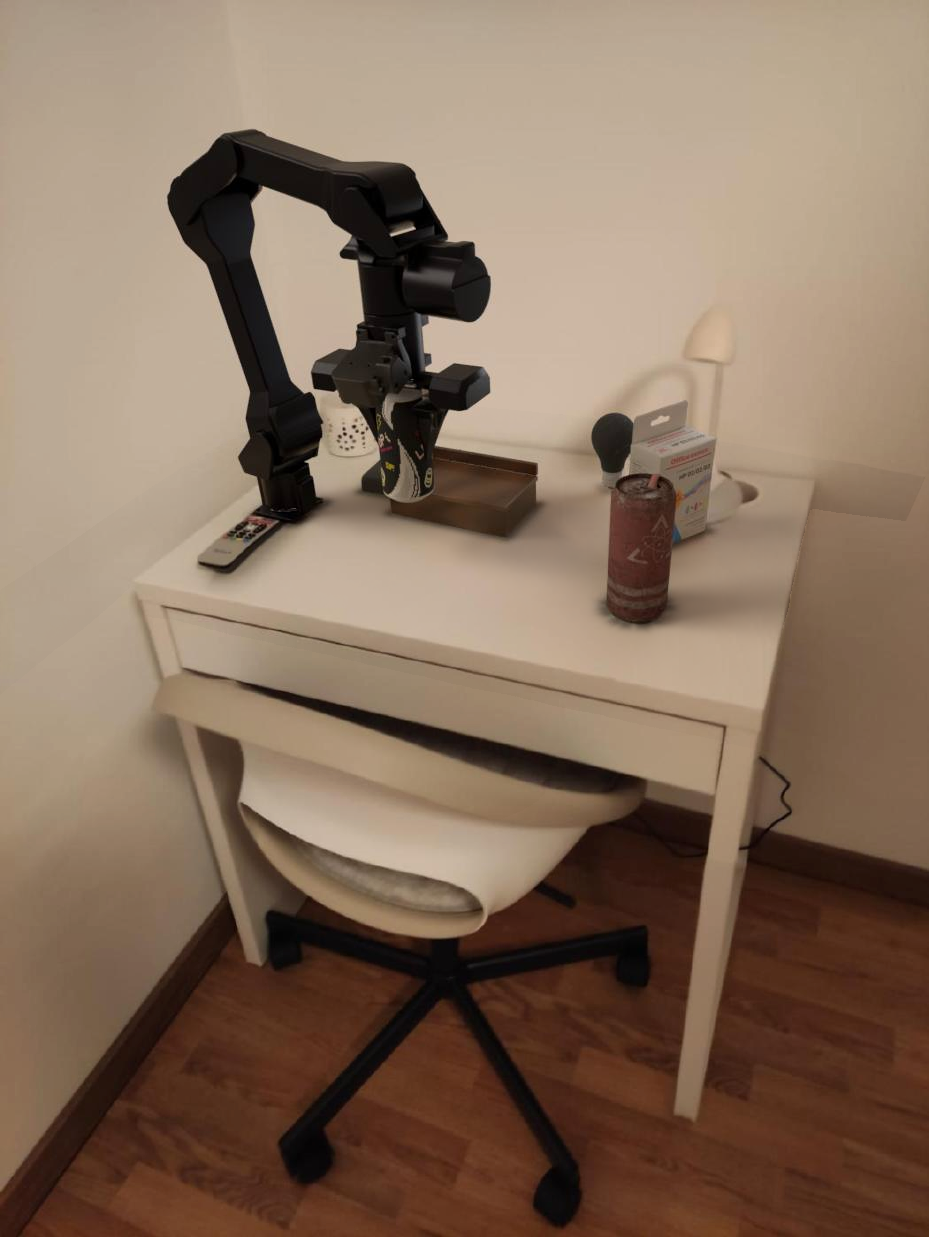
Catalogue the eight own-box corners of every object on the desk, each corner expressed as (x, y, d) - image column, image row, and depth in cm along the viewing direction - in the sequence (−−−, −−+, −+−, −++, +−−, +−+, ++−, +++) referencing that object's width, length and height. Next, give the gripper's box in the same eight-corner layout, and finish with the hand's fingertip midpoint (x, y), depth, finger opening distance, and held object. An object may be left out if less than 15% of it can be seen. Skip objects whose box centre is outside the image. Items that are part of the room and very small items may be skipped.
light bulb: (640, 483, 114) (645, 409, 109) (622, 501, 110) (626, 425, 105) (601, 475, 117) (603, 403, 111) (582, 492, 113) (584, 418, 107)
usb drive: (361, 491, 117) (359, 472, 115) (400, 455, 126) (398, 437, 124) (397, 496, 115) (395, 477, 113) (434, 459, 124) (432, 441, 122)
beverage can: (419, 510, 95) (412, 404, 88) (374, 501, 97) (363, 396, 90) (443, 487, 99) (438, 385, 92) (399, 479, 101) (390, 378, 95)
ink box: (653, 553, 99) (663, 430, 91) (623, 537, 103) (630, 416, 95) (707, 530, 103) (721, 410, 95) (676, 515, 107) (687, 397, 98)
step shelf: (389, 513, 111) (384, 473, 108) (427, 482, 118) (424, 443, 115) (506, 538, 104) (504, 496, 101) (539, 503, 111) (539, 463, 108)
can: (673, 596, 92) (684, 474, 84) (657, 629, 87) (668, 503, 79) (616, 586, 94) (623, 465, 86) (598, 617, 90) (603, 493, 82)
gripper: (265, 322, 85) (292, 470, 94) (431, 342, 77) (443, 502, 86) (333, 293, 93) (351, 432, 102) (490, 308, 85) (495, 457, 94)
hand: (406, 455), depth 96 cm, fingers closed on beverage can, 5 cm apart
